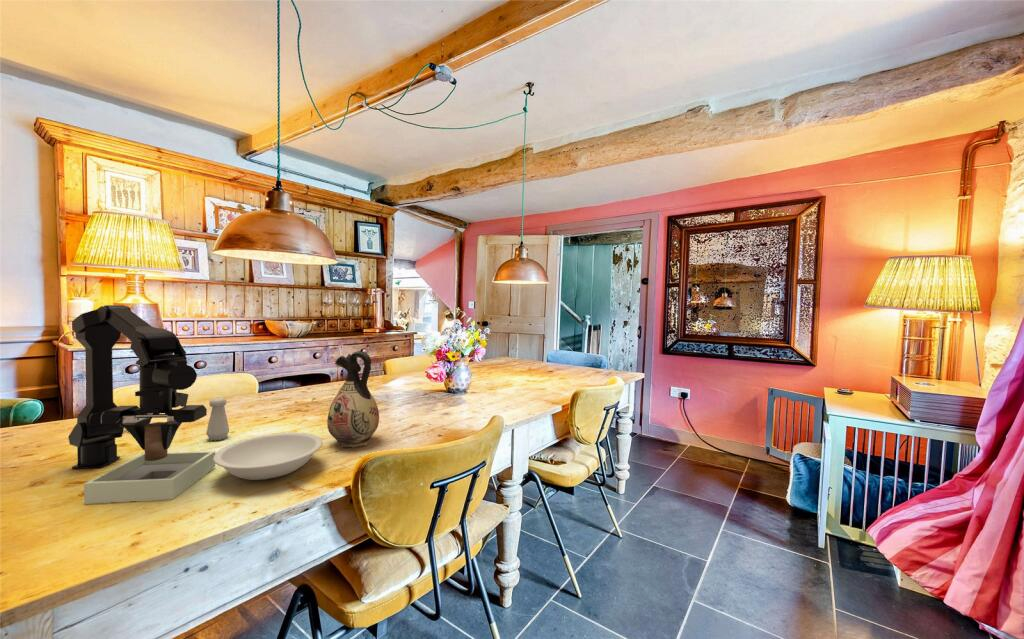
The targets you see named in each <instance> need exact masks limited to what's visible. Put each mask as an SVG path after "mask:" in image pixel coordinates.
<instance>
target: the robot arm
mask: <svg viewBox="0 0 1024 639" xmlns="http://www.w3.org/2000/svg"><path fill="white" fill-rule="evenodd" d="M71 326H72V330H73V332H74V334H75V340H77V341H78V342H79V344H81V346H83V347H84V349H85V382H86V383H85V384H86V385H85V386H86V390H85V391H86V393H85V394H86V395H85V396H86V404H85V406H84V407H83V408H82V409H81V410H80V412H79V413H78V414H77V418H76V419H77V420H76V424H75V425H74V426H73V429H72V430H71V431H70V433H69V435H68V442H69V445H70V446H73V447H76V448H77V451H76V452H77V455H76V456H77V458H76V459H77V463H76V464H75V465H73V466H71V469H72V470H75V469H76V470H77V469H78V470H79V469H98V468H99V469H100V468H103V467H105V466H108V465H110V464H111V463H113V462H115V461H117V460H119V459H121V456H120V455H119V456H118V445H117V443H116V439H117V438H122V437H123V434H124V430H127V431H128V432H129V433H128V432H127V433H128V434H130V435H131V436H132V438H133V439H134V440H135V441H136V443H137V444H138V446H139V447H140V448H141V449H142V450H143V451H145V425H147V424H150V421H151V422H152V419H153V418H154V419H156V418H157V419H158V418H159V419H160V418H161V419H163V418H164V419H165V418H166V421H164V422H165V423H163V424H161V434H162V442H163V447H164V450H166V449H167V450H168V449H170V448H171V447H170V446H171V445H172V442H173V440H174V437H175V436H176V433H177V431H178V429H179V428H180V426H181V425H182V424H183V423H194V422H196V421H198V420H200V419H202V418H204V417H207V415H208V414H207V412H208V410H207V407H206V406H205V405H204V404H188V399H189V396H190V395H189V394H188V393H186V392H185V393H184V392H179V391H183V390H187V389H189V388H191V387H192V386H193V385H194V384H195V382H196V381H197V378H198V373H197V372H196V370H195V368H194V367H192V366H191V365H189V364H188V360H187V355H186V354H187V352H186V350H185V349H184V347H183V346H182V344H181V342H180V339H179V338H178V337H177V335H176V334H175V332H173V331H171V330H169V329H165V328H161V327H156V326H155V327H154V326H152V325H151V324H149V323H148V322H147V321H146V320H144V319H143V318H141V317H140V316H138V315H137V314H136V313H134V312H133V311H132V309H131V307H129V306H128V305H127V306H126V305H123V304H121V305H120V304H119V305H118V304H116V305H115V304H113V305H111V304H105V305H102V306H99V307H98V308H97V309H93V310H90V311H86V312H83V313H80V314H79V315H78V316H77V317H75V318H74V319H73V321H72V325H71ZM122 335H123V336H125V337H126V338H127V339H128V340H130V342H131V343H130V347H129V348H130V349H131V351H132V352H133V353H134V354H135V356H136V357H137V358H138V359H137V361H135V365H136V366H139V390H136V391H135V392H134V396H135V397H139V406H138V405H119V406H118V405H117V404H116V403H115V402H114V377H113V376H114V375H113V373H114V372H113V370H114V369H113V366H114V365H113V347H114V346H115V345H116V344H117V343H118V341H119V340H120V339H121V336H122ZM139 407H140V408H139ZM179 407H181V408H179ZM173 408H174V409H173ZM176 408H177V409H176Z"/></svg>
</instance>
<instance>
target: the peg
mask: <svg viewBox="0 0 1024 639" xmlns="http://www.w3.org/2000/svg"><path fill="white" fill-rule="evenodd" d="M165 422H166V421H157V422H152V423H151V424H147V425H145V450H144V453H145V461H155V460H160V459H163V458H165V457H167V453H168V449H166V450H164V447H163V442H162V434H161V424H163V423H165Z"/></svg>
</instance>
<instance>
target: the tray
mask: <svg viewBox="0 0 1024 639" xmlns="http://www.w3.org/2000/svg"><path fill="white" fill-rule="evenodd" d="M215 454H216V451H215V450H211V451H210V450H209V451H204V450H203V451H182V452H179V451H178V452H167V457H165V458H163V459H160V460H155V461H145V452H144V453H141V454H139V455H137V456H135V457H133V458H131V459H129V460H127V461H126V462H124V463H122V464H120V465H117V466H115V467H114V468H112V469H110V470H108V471H106V472H104V473H103V474H100V475H98V476H96V477H94V478H92V479H90V480H88V481H87V482H85V483H84V484H83V499H84V500H83V501H84V505H95V504H110V503H111V502H117V503H130V501H136V502H149V501H151V502H153V500H155V501H170V500H171V501H172V500H174V499H176V498H177V497H179V495H181V494H182V493H183V492H185V491H187V490H188V489H189V488H190V487H192V486H193V485H194V484H196V483H197V482H198V481H200V480H201V479H202V478H204V477H205V476H206V475H208V474H209V473H210V472H212V471H213V470H214V469H215V468H216V464H215V463H214V461H213V457H214V455H215ZM214 467H215V468H214ZM213 468H214V469H213ZM212 469H213V470H212ZM211 470H212V471H211ZM209 471H210V472H209ZM208 472H209V473H208ZM207 473H208V474H207ZM205 474H206V475H205ZM204 475H205V476H204ZM203 476H204V477H203ZM200 478H201V479H200ZM199 479H200V480H199ZM196 481H197V482H196ZM195 482H196V483H195ZM111 504H112V503H111Z"/></svg>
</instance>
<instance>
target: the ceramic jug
mask: <svg viewBox="0 0 1024 639" xmlns="http://www.w3.org/2000/svg"><path fill="white" fill-rule="evenodd" d="M358 359H361V360H363V365H364V366H363V369H362V368H361V366H360V363H358ZM334 365H336V366H339V367H341V368H342V369H344V370H345V371H346V372H347V376H346V380H345V381H344V383H343V384H342V386H341V387H340V389H338V391H337V393H336V395H335V397H334V398H333V400H332V402H331V403H330V406H329V411H328V412H327V413H328V414H327V419H326V424H327V425H326V426H327V430H328V432H329V434H330V436H332V437H333V438H334V439H335V440H336V442H337V443H338V446H339V445H340V446H339V447H341V446H343V447H342V448H345V447H352V448H358V446H359V447H364V446H367V445H368V444H369V443H370V442H371V437H372V436H373V435H374V434H375V433H376V431H377V429H378V427H379V423H380V411H379V408H378V405H377V402H376V400H375V398H374V396H373V394H372V393H371V391H370V390H369V388H368V380H369V378H370V374H371V371H372V370H371V369H372V360H371V356H370V355H369V354H368V353H367V352H365V351H361V350H359V351H355V352H352V353H348V355H347V356H343V355H341V356H339V357H338V358H337V359H336V361H335V362H334ZM362 370H363V371H362ZM361 371H362V375H361V377H360V372H361ZM366 444H367V445H366ZM363 445H364V446H363Z"/></svg>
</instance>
